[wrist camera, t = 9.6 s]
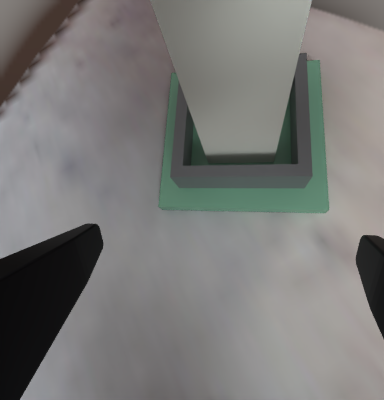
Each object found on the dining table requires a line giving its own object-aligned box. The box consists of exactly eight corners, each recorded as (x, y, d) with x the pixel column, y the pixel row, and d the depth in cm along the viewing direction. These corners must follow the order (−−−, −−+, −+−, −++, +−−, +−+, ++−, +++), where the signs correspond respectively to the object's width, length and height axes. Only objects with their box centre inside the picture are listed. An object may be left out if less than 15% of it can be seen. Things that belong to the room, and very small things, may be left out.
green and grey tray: (325, 213, 19) (341, 200, 16) (162, 209, 21) (146, 198, 18) (316, 69, 22) (328, 32, 19) (174, 80, 24) (162, 50, 21)
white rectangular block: (273, 162, 20) (318, -25, 7) (208, 163, 21) (149, 0, 8) (272, 103, 21) (309, -143, 8) (211, 106, 22) (164, -109, 9)
